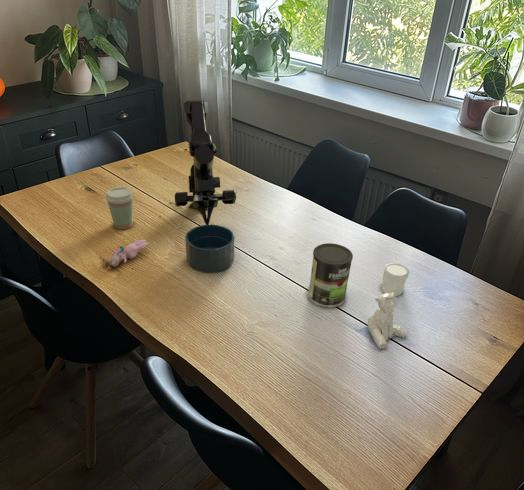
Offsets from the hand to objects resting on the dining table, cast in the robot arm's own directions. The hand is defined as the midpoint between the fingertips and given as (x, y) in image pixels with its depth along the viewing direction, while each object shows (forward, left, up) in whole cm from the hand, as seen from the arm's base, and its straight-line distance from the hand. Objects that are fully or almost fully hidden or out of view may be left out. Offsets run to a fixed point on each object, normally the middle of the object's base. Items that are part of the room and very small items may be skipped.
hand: (207, 224), depth 153 cm
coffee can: (+9, +42, -7) cm, 43 cm away
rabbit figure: (+18, -17, -7) cm, 26 cm away
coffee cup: (+2, -30, -7) cm, 31 cm away
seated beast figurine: (+18, +59, -7) cm, 62 cm away
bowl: (+8, +5, -7) cm, 11 cm away
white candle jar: (-2, +58, -7) cm, 58 cm away
